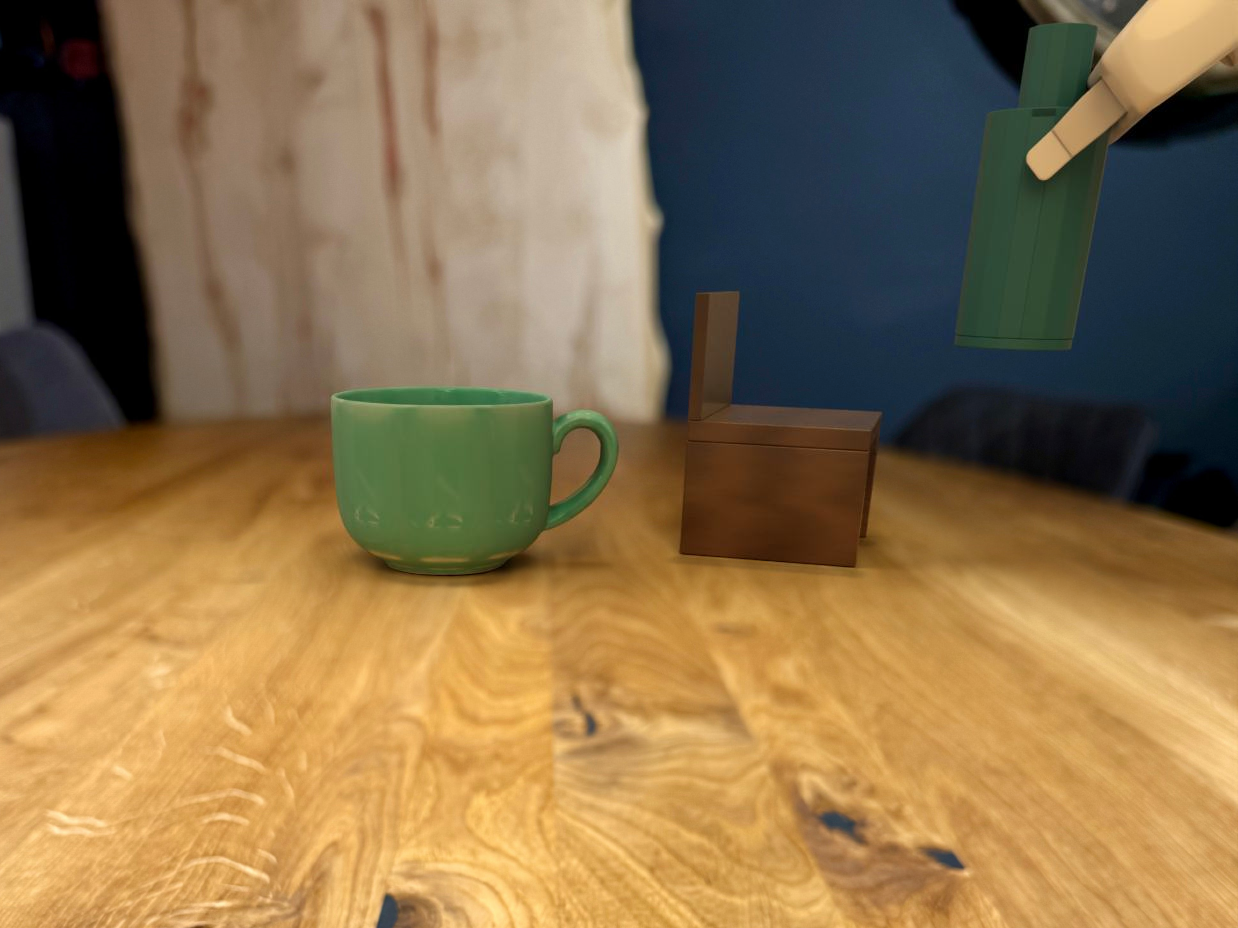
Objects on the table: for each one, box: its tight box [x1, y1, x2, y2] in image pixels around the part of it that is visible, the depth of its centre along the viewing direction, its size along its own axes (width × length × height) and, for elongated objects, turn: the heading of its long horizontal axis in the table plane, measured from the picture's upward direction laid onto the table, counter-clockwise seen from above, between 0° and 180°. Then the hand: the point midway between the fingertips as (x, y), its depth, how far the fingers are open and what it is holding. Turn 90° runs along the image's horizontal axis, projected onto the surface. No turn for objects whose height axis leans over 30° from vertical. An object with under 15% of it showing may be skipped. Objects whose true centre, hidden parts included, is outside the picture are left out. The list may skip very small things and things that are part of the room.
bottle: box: [953, 22, 1112, 352], centre depth 75 cm, size 7×7×16 cm
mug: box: [330, 386, 620, 576], centre depth 76 cm, size 17×13×10 cm
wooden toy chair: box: [679, 290, 883, 568], centre depth 84 cm, size 11×12×15 cm
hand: (1028, 176), depth 74 cm, fingers closed on bottle, 7 cm apart
